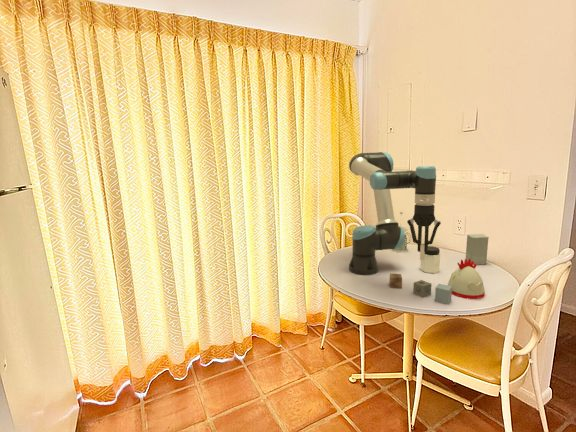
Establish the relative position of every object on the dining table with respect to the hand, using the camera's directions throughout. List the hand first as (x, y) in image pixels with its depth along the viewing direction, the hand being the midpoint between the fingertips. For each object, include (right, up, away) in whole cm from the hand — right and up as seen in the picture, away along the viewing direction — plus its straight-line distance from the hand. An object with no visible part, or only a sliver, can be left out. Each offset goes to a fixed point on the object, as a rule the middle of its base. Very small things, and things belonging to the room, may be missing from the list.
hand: (422, 259), depth 128 cm
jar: (+17, -10, +29) cm, 35 cm away
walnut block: (-7, -14, +12) cm, 20 cm away
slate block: (+7, -16, -4) cm, 18 cm away
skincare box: (+46, -8, +37) cm, 60 cm away
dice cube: (+1, -16, +3) cm, 16 cm away
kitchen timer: (+20, -15, +3) cm, 25 cm away
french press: (+15, -4, +64) cm, 66 cm away
